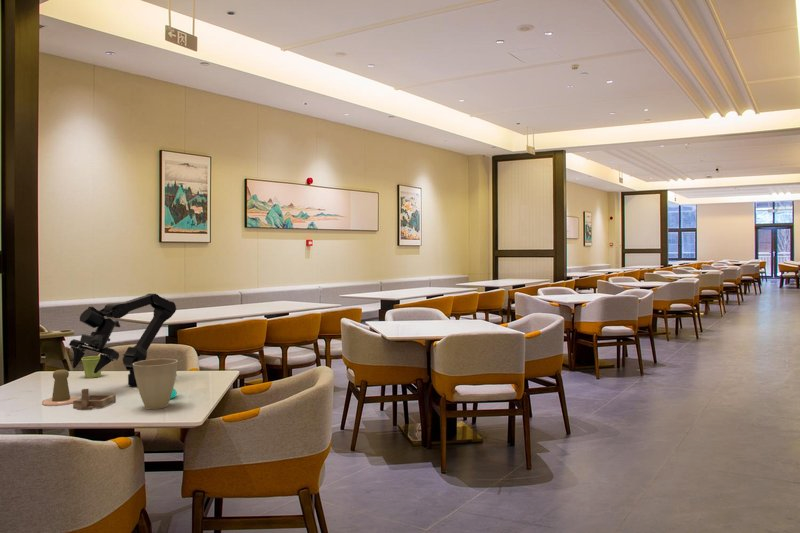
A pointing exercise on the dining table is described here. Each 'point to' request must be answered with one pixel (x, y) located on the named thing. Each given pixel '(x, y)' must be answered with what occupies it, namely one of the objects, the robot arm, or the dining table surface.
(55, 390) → the olive bulb shape
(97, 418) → the dining table surface
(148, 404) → the plant pot
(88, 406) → the collar stand
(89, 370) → the plant pot
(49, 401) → the coaster
